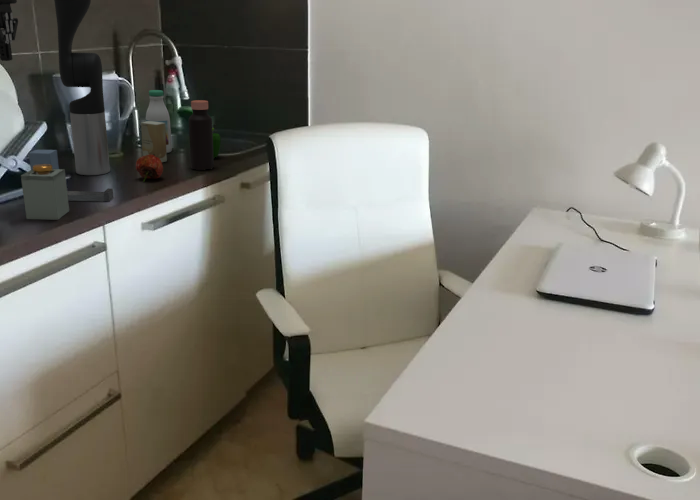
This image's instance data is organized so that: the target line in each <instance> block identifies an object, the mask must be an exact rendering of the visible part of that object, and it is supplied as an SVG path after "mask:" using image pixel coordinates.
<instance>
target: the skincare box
mask: <svg viewBox="0 0 700 500" xmlns="http://www.w3.org/2000/svg"><path fill="white" fill-rule="evenodd" d="M140 128H141V130H140V131H141V148H142V149H141V150H142V152H141V153H142V156H145V155H149V154H151V155H153V154H155V157H158V158H159V159H160V160H161V162H162V163H164V162H168V161H167V160H168V157H167V156H168V155H167V154H168V153H166V127H165V123H162V122H155V121H146V120H145V121H141V122H140Z"/></svg>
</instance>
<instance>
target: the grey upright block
mask: <svg viewBox="0 0 700 500" xmlns="http://www.w3.org/2000/svg"><path fill="white" fill-rule="evenodd" d="M20 178H21V179H20V181H21V187H22V195H23V202H24V209H25V216H26V217H25V218H26V220H52V221H53V220H54V221H55V220H57V221H58V220H60V219H61V218H63V217H64V216H66V214H68V213H69V212H70V206H69V201H68V195H67V191H68V188H67V187H68V186H67V179H66V169H65V168H63V169H62V168H59V169H53V170H52V171H50V174H49V175H44V174H37V173H36V172H34V171H33V169H32V170H31V169H30V170H28V171H27V172H25V173H23V174H21V175H20Z"/></svg>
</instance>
